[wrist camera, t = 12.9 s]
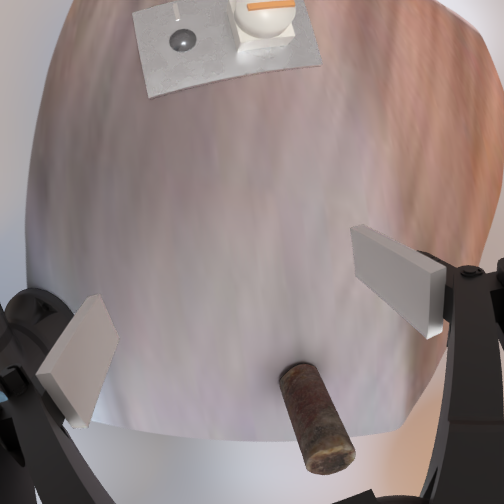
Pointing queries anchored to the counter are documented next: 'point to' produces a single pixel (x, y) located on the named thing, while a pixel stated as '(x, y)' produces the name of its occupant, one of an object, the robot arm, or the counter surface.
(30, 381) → the robot arm
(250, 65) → the panel
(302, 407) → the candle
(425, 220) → the counter surface
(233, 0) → the knob
